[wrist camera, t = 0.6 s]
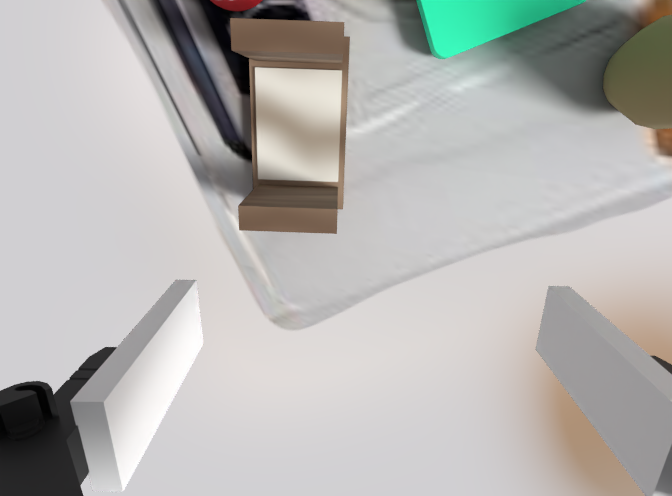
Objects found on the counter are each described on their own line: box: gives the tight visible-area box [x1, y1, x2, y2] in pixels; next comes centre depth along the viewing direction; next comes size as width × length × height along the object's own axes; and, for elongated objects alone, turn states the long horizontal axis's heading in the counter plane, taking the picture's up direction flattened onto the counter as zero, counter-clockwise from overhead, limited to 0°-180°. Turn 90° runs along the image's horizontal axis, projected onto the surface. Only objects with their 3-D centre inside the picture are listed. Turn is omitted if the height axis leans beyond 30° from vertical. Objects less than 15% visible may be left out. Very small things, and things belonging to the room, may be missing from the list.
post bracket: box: [230, 18, 350, 234], centre depth 33 cm, size 14×8×9 cm, turn 178°
